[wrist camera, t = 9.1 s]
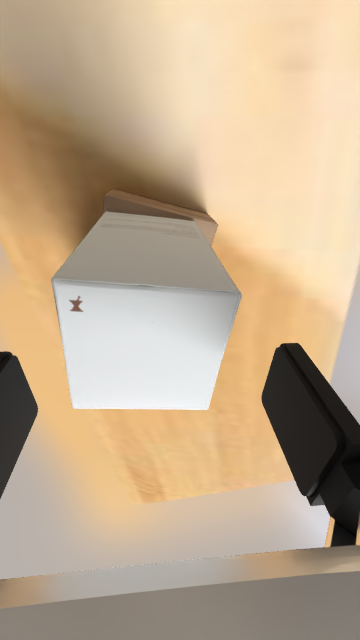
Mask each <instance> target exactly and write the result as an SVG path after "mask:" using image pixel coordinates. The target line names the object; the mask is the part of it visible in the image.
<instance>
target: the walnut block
mask: <svg viewBox="0 0 360 640" xmlns="http://www.w3.org/2000/svg"><path fill="white" fill-rule="evenodd" d="M105 211H108V212H117V213H126V214H136V215H145V216H154V217H164V218H172V219H181V220H188V221H195V222H196V224H197V225H198V227H199V228H200V230H201V231H202V233H203V235H204V236H205V238H206V239H207V241H208V242H209V244H210V246H211V245H212V242H213V239H214V236H215V233H216V230H217V227H218V224H217V223H216V222H215V221H214V220H213V219H212V218H211V217H210V216H209V215H208V214H206V213H202V212H198V211H195V210H191V209H187V208H184V207H180V206H176V205H172V204H169V203H165V202H161V201H158V200H154V199H150V198H146V197H143V196H139V195H135V194H131V193H128V192H124V191H120V190H117V189H112V190H111V191H109V192H108V193H106V194H105V197H104V207H103V214H104V213H105Z"/></svg>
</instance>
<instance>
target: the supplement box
mask: <svg viewBox="0 0 360 640" xmlns="http://www.w3.org/2000/svg"><path fill="white" fill-rule="evenodd" d="M51 282H52V287H53V292H54V298H55V303H56V309H57V315H58V320H59V326H60V332H61V337H62V343H63V351H64V357H65V364H66V371H67V377H68V383H69V390H70V396H71V403H72V407H73V408H75V409H184V410H207V409H208V408H209V404H210V400H211V397H212V393H213V389H214V386H215V382H216V378H217V375H218V371H219V368H220V364H221V361H222V358H223V355H224V352H225V348H226V345H227V342H228V339H229V335H230V332H231V329H232V326H233V323H234V319H235V316H236V313H237V309H238V306H239V303H240V300H241V296H242V295H241V292H240V291H239V289H238V288H237V287H236V285H235V284H234V282H233V281H232V279H231V278H230V276H229V274H228V273H227V271H226V270H225V268H224V266H223V265H222V263H221V262H220V260H219V259H218V257H217V255H216V254H215V252H214V250H213V249H212V247H211V246H210V244H209V242H208V241H207V239H206V238H205V236H204V235H203V233H202V231H201V230H200V228H199V227H198V225H197V224H196V222H195V221H188V220H181V219H172V218H164V217H154V216H145V215H136V214H126V213H117V212H108V211H105V213H104V214H103V215H102V216H101V218H100V219H99V220H98V221H97V223H96V224H95V225H94V226H93V228H92V229H91V230H90V231H89V233H88V234H87V235H86V236H85V238H84V239H83V240H82V241H81V243H80V244H79V245H78V246H77V248H76V249H75V250H74V251H73V253H72V254H71V255H70V256H69V257H68V259H67V260H66V262H65V263H64V264H63V265H62V266H61V267H60V269H59V270H58V271H57V272H56V274H55V275H54V276H53V278H52V279H51Z"/></svg>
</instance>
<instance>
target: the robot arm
mask: <svg viewBox="0 0 360 640" xmlns="http://www.w3.org/2000/svg"><path fill="white" fill-rule="evenodd" d="M262 403H263V406H264V408H265V411H266V413H267V415H268V418H269V420H270V423H271V425H272V427H273V430H274V432H275V434H276V437H277V439H278V441H279V444H280V446H281V448H282V451H283V453H284V455H285V458H286V460H287V463H288V465H289V467H290V470H291V472H292V474H293V477H294V479H295V481H296V483H297V486H298V488H299V490H300V492H301V494H302V495H303V496H306V497H307V499H308V501H309V503H310V506H316V505H325V506H326V508H327V510H328V513H329V515H330V521H329V527H328V532H327V537H326V543H325V547H323V548H310V549H297V550H287V551H276V552H265V553H255V554H245V555H235V556H224V557H214V558H204V559H194V560H184V561H174V562H164V563H155V564H144V565H135V566H126V567H115V568H106V569H96V570H86V571H77V572H67V573H58V574H49V575H39V576H30V577H21V578H11V579H2V580H0V640H360V425H359V423H358V422H357V421H356V419H355V418H354V417H353V415H352V414H351V413H350V411H349V410H348V409H347V407H346V406H345V405H344V403H343V402H342V401H341V399H340V398H339V397H338V395H337V394H336V392H335V391H334V390H333V388H332V387H331V386H330V384H329V383H328V382H327V380H326V379H325V378H324V376H323V375H322V374H321V372H320V371H319V370H318V368H317V367H316V366H315V364H314V363H313V361H312V360H311V359H310V357H309V356H308V355H307V353H306V352H305V351H304V349H303V348H302V347H301V345H300V344H298V343H283V344H281V345H280V347H278V348H276V350H275V353H274V356H273V360H272V363H271V366H270V370H269V373H268V376H267V379H266V383H265V386H264V389H263V393H262ZM37 412H38V406H37V403H36V401H35V399H34V396H33V394H32V391H31V389H30V387H29V384H28V382H27V380H26V377H25V375H24V372H23V370H22V367H21V365H20V362H19V360H18V358H17V357H16V356H13V355H12V353H10V352H0V498H1V496H2V494H3V491H4V489H5V487H6V484H7V482H8V480H9V478H10V475H11V473H12V471H13V469H14V466H15V464H16V462H17V459H18V457H19V455H20V452H21V450H22V448H23V445H24V443H25V441H26V439H27V437H28V434H29V432H30V430H31V427H32V425H33V423H34V420H35V418H36V416H37Z"/></svg>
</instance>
